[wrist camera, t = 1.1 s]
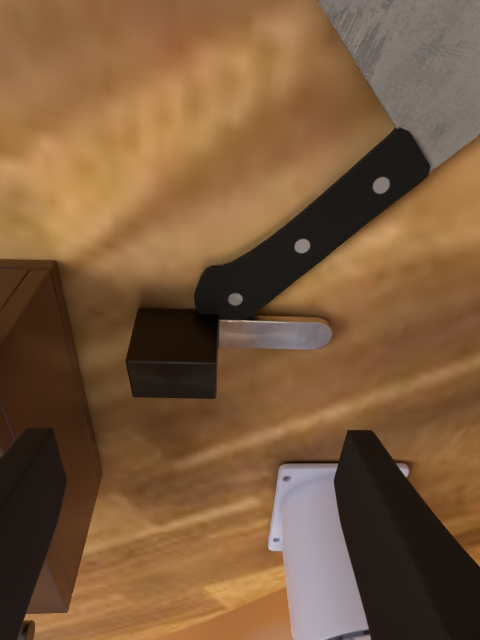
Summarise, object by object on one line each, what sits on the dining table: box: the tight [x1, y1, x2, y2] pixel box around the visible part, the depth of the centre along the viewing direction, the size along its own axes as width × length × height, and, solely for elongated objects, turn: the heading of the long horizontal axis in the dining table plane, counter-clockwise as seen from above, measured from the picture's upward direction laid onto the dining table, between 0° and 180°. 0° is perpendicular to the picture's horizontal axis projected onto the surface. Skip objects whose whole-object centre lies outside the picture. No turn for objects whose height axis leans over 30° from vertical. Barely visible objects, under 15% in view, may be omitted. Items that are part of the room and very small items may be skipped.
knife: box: [126, 308, 332, 399], centre depth 20 cm, size 9×2×3 cm, turn 88°
